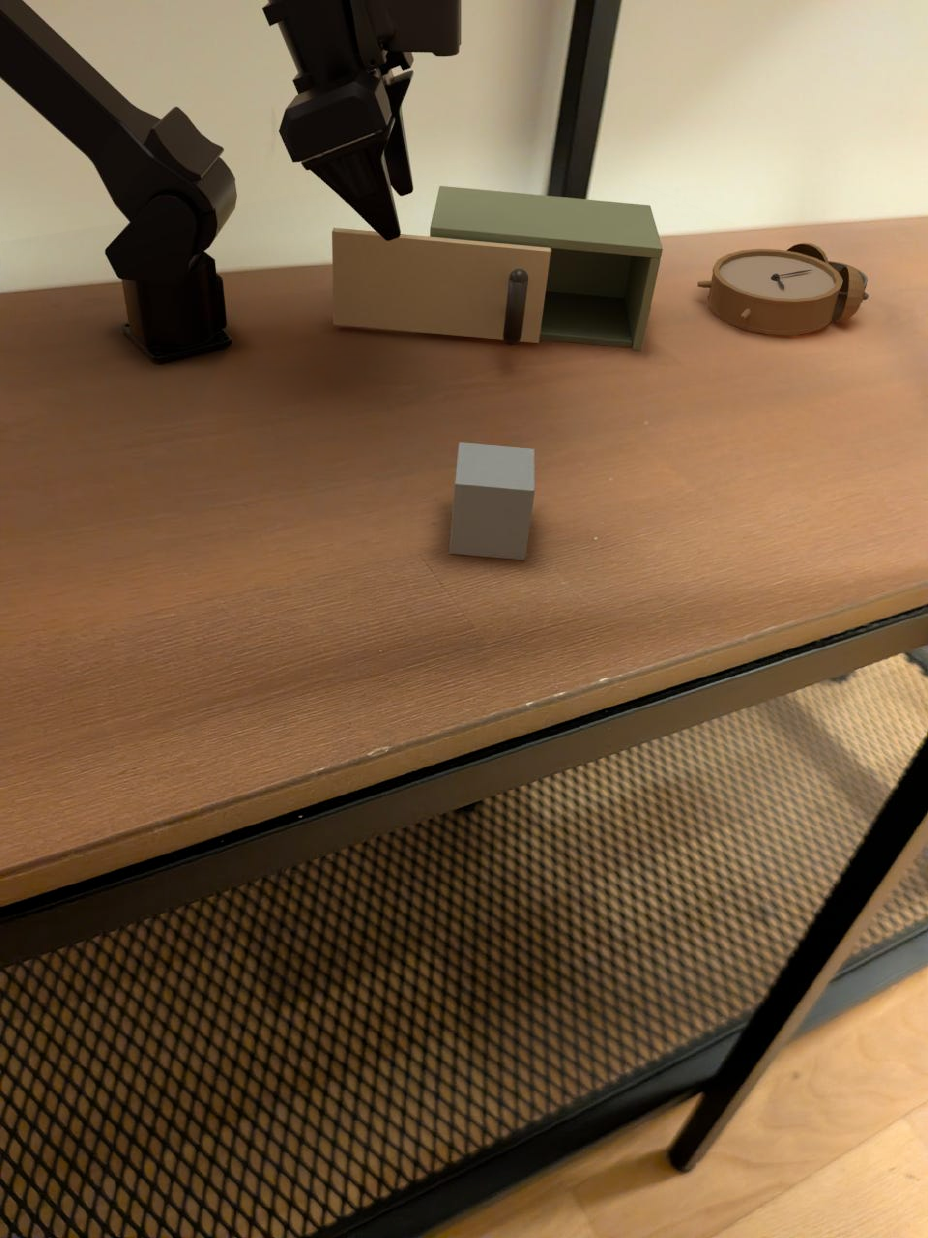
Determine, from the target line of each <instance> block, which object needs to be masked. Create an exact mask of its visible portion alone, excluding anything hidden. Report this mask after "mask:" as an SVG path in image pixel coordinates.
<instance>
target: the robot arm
mask: <svg viewBox="0 0 928 1238" xmlns="http://www.w3.org/2000/svg"><path fill="white" fill-rule="evenodd" d="M261 10H262V12H263V15H264V17H265V19H266V22H267V24H268V27H271V26H274V25H277V26H278V28H279V31H280V33H281V35H282V38H283V40H284V43H285V45H286V47H287V50H288V52H289V55H290V57H291V59H292V62H293V65H294V67H295V69H296V71H297V73H296V75H295V76H294V77H293V79H292V84H293V86H294V88H295V91H296V92H297V94H296V95H295V96H294V97H293V98H292V99H291V101H290V103H289V104H288V106H287V107H286V108H285V110H284V113H283V116H282V119H281V122H280V126H279V129H278V133H279V136H280V137H281V140H282V142H283V144H284V146H285V149H286V151H287V153H288V155H289V157H290V160H291V162H292V163H300V165H301V166H302V167H303V169H304V170H305V171H311V173H313V174H314V175H315V176H316V177H317V178H319V180H321V181H322V182H323V183H324V184H325V185H327V187H329V188H330V189H331V190H332V191H333V192H334V193H335V194H336V195H337V196H339V197H340V198H341V199H342V200H343V201H344V202H345V203H346V204H347V205H349V206H350V207H351V208H352V209H353V211H354V212H355V213H357V215H359V216H360V217H361V218H362V220H364V221H365V223H367V224H368V225H369V226H370V227H371V228H372V229H373V231H375V232H377V233H378V234H379V235H380V236H381V237H383V238H384V239H385V240H386V241H390V240H393V239H396V238H398V237H400V235H401V234H402V230H401V225H400V220H399V215H398V210H397V206H396V202H395V197H394V193H393V190H394V191H395V193H396V194H397V195H398V196H399V197H404V196H408V195H411V194H412V193H413V191H414V184H413V183H414V182H413V175H412V169H411V162H410V157H409V149H408V143H407V136H406V128H405V121H404V113H403V103H404V100H405V97H406V94H407V93H408V90H409V87H410V84H411V82H412V79H413V77H414V70H411V68H412V66H413V63H414V61H415V59H414V56H413V54H412V53H422V54H423V53H425V54H427V53H430V54H433V55H434V56H435V57H441V58H443V57H453V56H457V55H459V53H460V47H461V45H462V0H267V3H266V4H265V5H264V6H262V7H261ZM398 67H400V68H401V70H402V71H403V72H402V73H400V74H397V75H395V76H394V73H393V69H396V68H398ZM406 70H407V71H406ZM0 80H1V81H2V82H4V83H5V85H7V86H8V87H9V88H11V89H12V90H13V92H15V93H16V94H17V95H18V96H19V97H20V98H22V99H23V100H24V101H25V102H26V103H27V104H28V105H29V106H31V108H32V109H34V110H35V111H36V112H37V113H38V114H39V115H40V116H41V117H43V119H45V120H46V121H47V122H48V123H49V124H50V125H52V126H53V127H54V129H55V130H57V131H58V132H59V133H61V135H63V136H64V137H65V138H66V139H67V140H68V141H69V142H70V143H72V144H73V145H74V146H75V147H76V148H77V150H79V151H80V152H81V153H82V154H84V155H85V157H87V159H88V160H89V161H90V162H91V163H92V165H93V167H94V168H95V171H96V172H97V175H98V177H99V178H100V180H101V181H102V183H103V185H104V187H105V189H106V191H107V193H108V194H109V196H110V198H111V200H112V202H113V204H114V206H115V207H116V208H117V209H118V210H119V211H120V213H121V214H122V215H123V216H124V217H125V218H126V220H127V221H128V223H127V224H126V226H124V228H123V229H122V230H121V231H120V232H119V234H117V235H116V236H115V238H114V239H113V240H112V241H111V242H110V244H108V245H107V247H106V248H105V249H104V254H105V256H106V258H107V260H108V262H109V265H110V266H111V268H112V270H113V272H114V274H115V275H116V278H117V279H119V280H121V286H122V292H123V297H124V304H125V308H126V317H127V322H125V323H122V324H121V327H120V328H121V331H122V333H123V334H124V335H125V336H126V337H128V339H129V340H130V341H132V342H133V344H135V346H137V348H139V350H140V351H142V352H143V353H144V354H145V356H147V357H148V358H149V359H150V360H151V361H152V362H154V363H162V362H166V361H170V360H175V359H179V358H184V357H188V356H192V355H197V354H200V353H205V352H210V351H213V350H218V349H222V348H225V347H230V346H232V344H233V337H232V336H231V335H230V334H228V333H227V332H226V331H225V329H226V328H227V326H228V319H227V317H228V316H227V307H226V306H227V305H226V296H225V287H224V286H225V285H224V279H223V277H222V276H221V275H220V274H219V273H217V265H216V264H217V263H216V259H215V258H213V256H212V255H210V254H209V253H207V252H206V250H207V249H209V248H210V247H211V245H212V244H213V243H214V241H215V240H216V238H217V237H218V235H219V234H220V232H221V231H222V229H223V228H224V227H225V225H226V223H227V222H228V221H229V219H230V218H231V215H232V214H233V212H234V210H236V204H237V198H238V194H237V186H236V178H235V176H234V174H233V172H232V169H231V168H230V167H229V166H228V164H227V162H226V161H225V160H224V159H223V158H222V157H221V156H222V155H223V153H224V152H225V148H224V147H223V146H221V145H219V144H217V143H215V142H212V141H211V140H210V139H208V137H206V136H205V135H204V134H203V133H202V132H201V131H200V130H199V129H198V128H197V126H196V125H195V123H194V122H193V121H192V120H191V119H190V117H189V116H188V115H187V114H186V113H185V112H184V111H183V110H182V109H181V108H180V107H179V106H173V108H172V109H170V111H168V112H167V113H166V114H165V115H164V116H163V117H162V118H159V117H158V116H155V115H153V114H151V113H148V112H146V111H144V110H143V109H140V108H139V107H137V106H136V105H134V104H133V103H132V102H130V101H129V100H128V99H127V98H126V97H125V96H124V95H123V94H122V93H121V92H120V91H119V90H118V89H117V88H116V87H115V86H114V85H113V84H111V82H110V81H108V79H106V78H105V77H104V76H103V75H102V74H101V73H100V72H99V71H98V70H97V69H96V68H95V67H94V66H93V65H92V64H91V63H89V61H87V60H86V59H85V58H84V56H82V55H81V54H80V53H79V52H78V51H77V50H76V49H75V48H74V47H73V46H72V45H70V43H68V41H66V40H65V38H63V37H62V36H61V35H60V34H59V33H58V32H57V31H56V30H55V29H54V28H53V27H52V26H51V25H50V24H48V23H47V22H46V20H45V19H43V18H42V17H41V16H40V15H39V14H38V13H37V12H36V10H34V9H33V8H32V7H30V6H29V4H28V3H27V2H26V1H24V0H0Z"/></svg>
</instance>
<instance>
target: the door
mask: <svg viewBox="0 0 928 1238" xmlns="http://www.w3.org/2000/svg"><path fill="white" fill-rule="evenodd" d="M331 252H332V253H331V256H332V257H331V261H332V262H331V263H332V309H333V310H332V312H333V313H332V314H333V315H332V316H333V317H332V318H333V325H335V326H345V327H346V326H347V327H348V326H349V327H357V328H371V329H377V330H390V331H402V332H411V333H423V334H436V335H445V336H457V337H467V338H479V339H487V340H488V339H489V340H499V341H503V342H504V343H505V344H506V345H507V346H510V347H514V346H517V345H518V344H519V343H520V342H521V343H522V342H523V343H531V344H532V343H533V344H539V343H540V339H539V338H540V331H541V323H542V316H543V308H544V301H545V293H546V286H547V278H548V271H549V264H550V256H551V248H547V247H536V246H526V245H515V244H504V243H493V242H482V241H472V240H461V239H450V238H439V237H430V235H429V236H428V235H419V234H417V235H415V234H406V233H401V235H400V237H398V238H396V239H393V240H390V241H386V240H385V239H384V238H383V237H381V236H380V235H379V234H378V233H377V232H376V231H375V230H362V229H354V228H353V229H351V228H341V227H332V230H331Z"/></svg>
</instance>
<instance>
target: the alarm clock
mask: <svg viewBox="0 0 928 1238" xmlns="http://www.w3.org/2000/svg"><path fill="white" fill-rule="evenodd" d="M868 282H869V278H868V276H867V275H866V274H865V273H864V272H863V271H861V270H860V269H858V268H856V267H855V266H852V265H849V264H847V263H842V262H838V261H832V260H829V259H828V257H827V255H826V253H825V251H824V250H823V249H822V248H821V247H820V246H818V245H816V244H814V243H811V242H810V243H809V242H801V243H797V244H793V245H792V246H790V247H789V248H788V249H786V250H783V249H775V248H774V249H773V248H753V249H743V250H739V251H735V252H731V253H727V254H725V255H724V256H722V257H719V258H718V259H717V260H716V261H715V263H714V265H713V267H712V275H711V280H701V281H698V282H697V288H698V287H699V288H703V289H709V291H708V295H707V298H706V299H707V300H706V301H707V306H708V309H709V310H710V311H711V312H712V313H713V314H714V316H716V318H718V319H720V320H722V321H723V322H725V323H727V324H728V325H730V326H734V327H737V328H740V329H743V330H746V331H749V332H753V333H759V334H766V335H776V336H777V335H778V336H793V335H803V334H808V333H812V332H815V331H818V330H822V329H823V328H825V327H826V326H827V325H828V324H830V323H831V322H832V321H834V322H844V321H847V320H849V319H851V318H853V316H854V315H855V314H856V313H857V312H858V311H859V309H860V307H861V306H862V304H863V302H864V301H866V300H869V297H870V294H869V293H868V292H866V290H867V286H868Z"/></svg>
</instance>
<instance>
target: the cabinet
mask: <svg viewBox="0 0 928 1238" xmlns="http://www.w3.org/2000/svg"><path fill="white" fill-rule="evenodd" d="M432 213H433V214H432V217H431V218H432V219H431V223H430V230H429V231H430V232H429V233H430V234H429V237H439V238H450V239H461V240H472V241H482V242H493V243H504V244H515V245H526V246H536V247H547V248H551V256H550V264H549V271H548V278H547V286H546V293H545V301H544V308H543V316H542V323H541V331H540V338H539V341H540V340H541V341H551V342H562V343H571V344H572V343H574V344H583V345H584V344H585V345H595V346H606V347H616V348H618V347H619V348H627V349H631V350H632V351H639V352H641V351H642V350H643V345H644V342H645V341H644V340H645V335H646V331H647V328H648V323H649V322H648V321H649V317H650V312H651V308H652V304H653V297H654V295H655V289H656V284H657V280H658V274H659V270H660V264H661V260H662V259H661V258H662V256H663V251H664V248H663V244H662V241H661V237H660V234H659V231H658V228H657V224H656V220H655V218H654V217H655V216H654V213H653V210H652V207H651V205H649V204H638V203H629V202H618V201H608V200H607V201H606V200H596V199H585V198H576V197H564V196H554V195H553V196H552V195H543V194H532V193H531V194H530V193H524V192H523V193H521V192H510V191H500V190H489V189H479V188H467V187H457V186H448V185H447V186H446V185H439V186H438V191H437V194H436V200H435V204H434V209H433V212H432Z"/></svg>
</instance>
